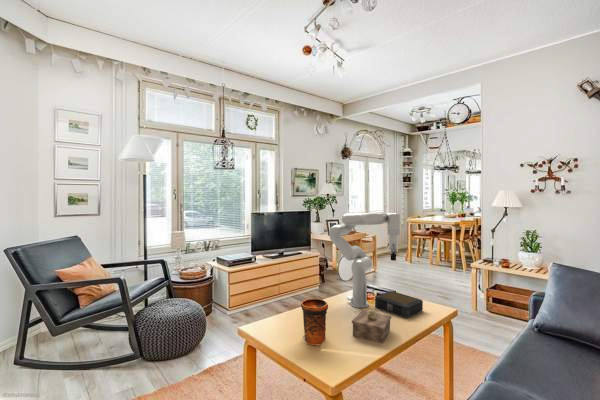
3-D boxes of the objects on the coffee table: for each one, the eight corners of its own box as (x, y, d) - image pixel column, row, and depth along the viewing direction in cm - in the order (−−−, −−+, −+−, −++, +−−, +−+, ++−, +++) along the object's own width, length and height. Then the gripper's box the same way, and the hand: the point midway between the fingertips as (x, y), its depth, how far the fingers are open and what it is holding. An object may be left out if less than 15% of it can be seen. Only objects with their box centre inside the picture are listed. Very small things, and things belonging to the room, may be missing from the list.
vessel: (298, 345, 155) (299, 306, 155) (302, 333, 170) (302, 297, 170) (327, 348, 153) (327, 308, 153) (328, 335, 168) (328, 299, 168)
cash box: (373, 307, 208) (373, 296, 207) (391, 300, 220) (391, 290, 220) (406, 319, 188) (406, 307, 188) (423, 311, 201) (423, 299, 201)
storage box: (352, 337, 164) (352, 323, 164) (362, 326, 178) (362, 312, 178) (382, 345, 156) (382, 329, 156) (389, 332, 170) (390, 318, 170)
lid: (351, 323, 164) (351, 313, 164) (361, 312, 179) (361, 303, 178) (383, 330, 156) (383, 320, 155) (391, 318, 170) (391, 308, 170)
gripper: (388, 230, 205) (388, 255, 205) (386, 233, 188) (386, 261, 189) (399, 230, 202) (399, 256, 203) (399, 234, 186) (399, 262, 186)
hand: (393, 258), depth 196 cm, fingers open, 9 cm apart
